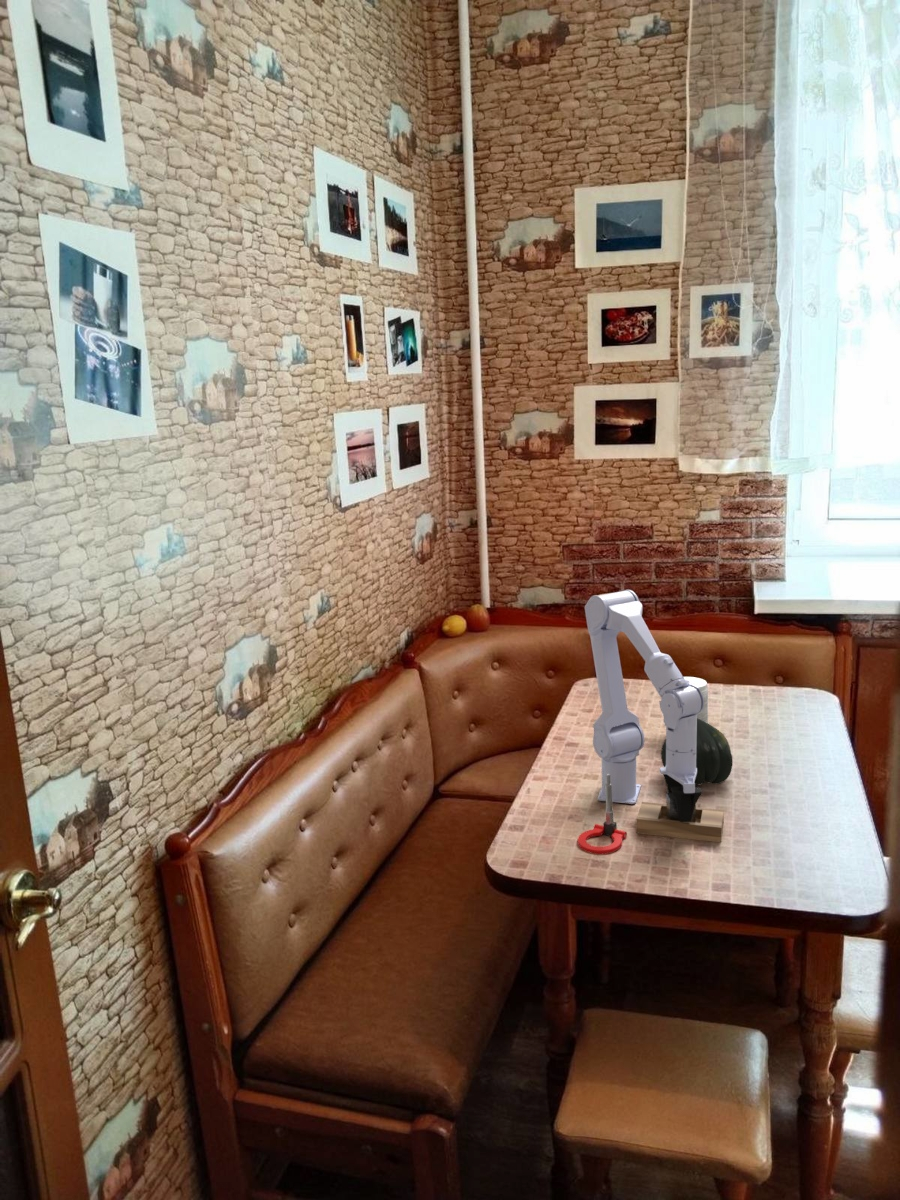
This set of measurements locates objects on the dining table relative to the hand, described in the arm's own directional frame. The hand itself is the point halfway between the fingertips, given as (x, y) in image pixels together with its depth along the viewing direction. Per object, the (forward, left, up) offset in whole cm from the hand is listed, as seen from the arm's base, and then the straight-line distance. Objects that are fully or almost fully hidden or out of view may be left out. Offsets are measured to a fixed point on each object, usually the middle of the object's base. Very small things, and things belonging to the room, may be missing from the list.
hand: (680, 812), depth 188 cm
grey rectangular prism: (0, 0, -2) cm, 2 cm away
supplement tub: (-48, -3, -4) cm, 49 cm away
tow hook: (+9, -14, -4) cm, 17 cm away
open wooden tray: (0, 0, -3) cm, 3 cm away
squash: (-24, +1, -4) cm, 25 cm away
